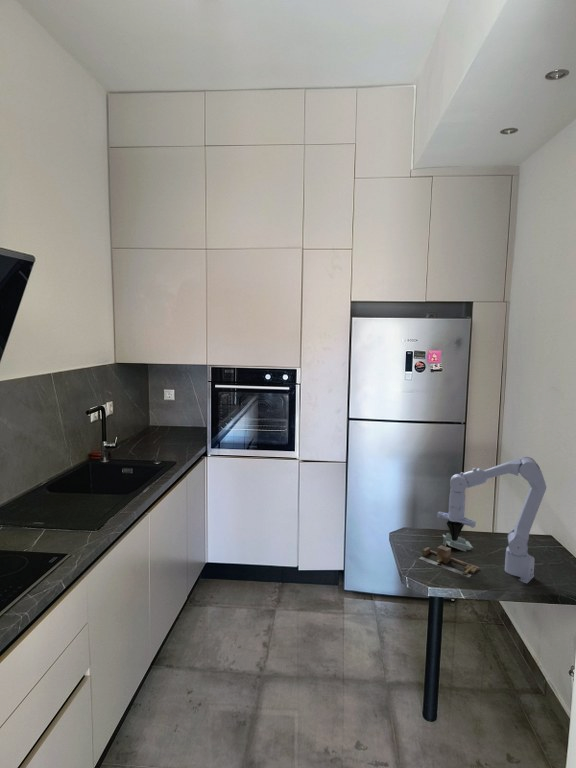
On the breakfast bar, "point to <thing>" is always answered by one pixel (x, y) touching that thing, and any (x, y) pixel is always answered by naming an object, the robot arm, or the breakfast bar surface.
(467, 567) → the gauge board
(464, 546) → the metal bracket
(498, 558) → the breakfast bar surface
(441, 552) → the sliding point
